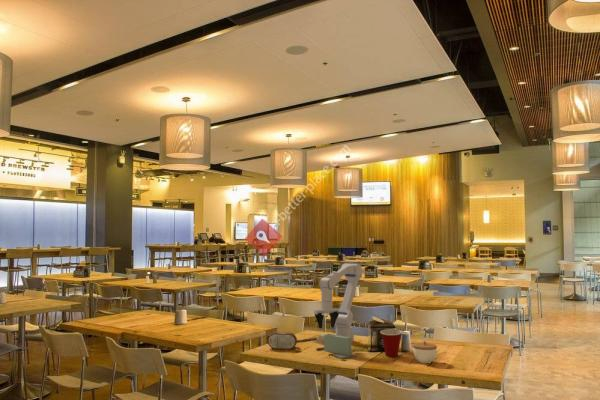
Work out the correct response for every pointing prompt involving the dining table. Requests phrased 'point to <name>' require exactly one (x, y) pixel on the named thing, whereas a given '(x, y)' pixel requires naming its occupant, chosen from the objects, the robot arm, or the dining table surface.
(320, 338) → the offcut top
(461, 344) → the dining table surface
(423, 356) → the lidded jar
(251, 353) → the dining table surface
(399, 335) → the plastic cup
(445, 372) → the dining table surface
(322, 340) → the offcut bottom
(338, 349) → the pale green block
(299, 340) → the rack
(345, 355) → the mat
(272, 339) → the tin
